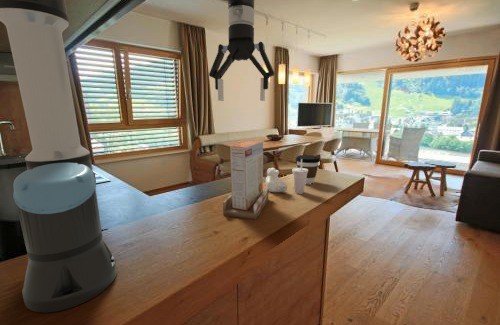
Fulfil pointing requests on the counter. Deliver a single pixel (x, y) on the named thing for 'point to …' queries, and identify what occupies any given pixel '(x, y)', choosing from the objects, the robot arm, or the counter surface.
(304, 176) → the smoothie
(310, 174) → the coffee cup
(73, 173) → the robot arm
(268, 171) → the bust
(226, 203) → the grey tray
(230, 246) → the counter surface
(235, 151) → the cracker box
